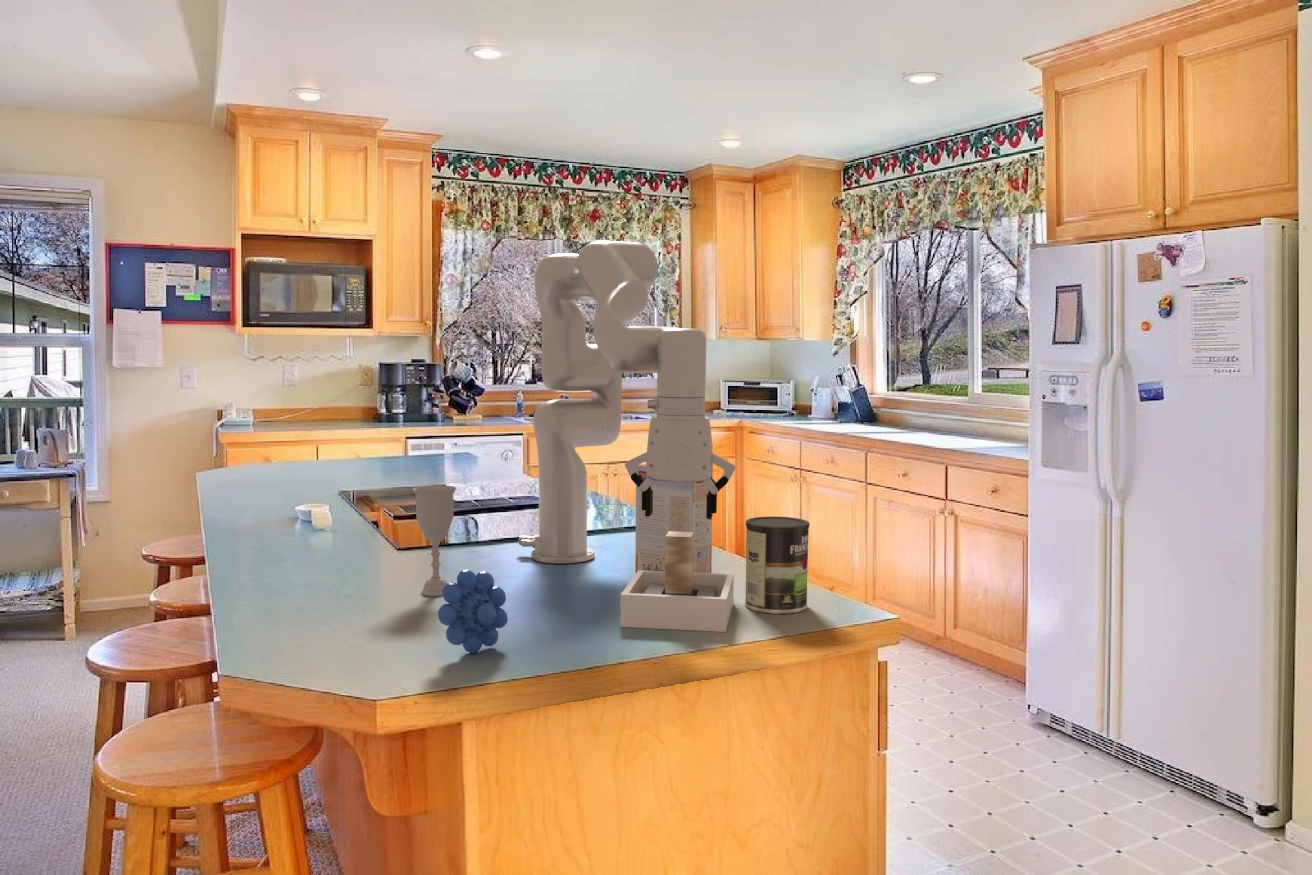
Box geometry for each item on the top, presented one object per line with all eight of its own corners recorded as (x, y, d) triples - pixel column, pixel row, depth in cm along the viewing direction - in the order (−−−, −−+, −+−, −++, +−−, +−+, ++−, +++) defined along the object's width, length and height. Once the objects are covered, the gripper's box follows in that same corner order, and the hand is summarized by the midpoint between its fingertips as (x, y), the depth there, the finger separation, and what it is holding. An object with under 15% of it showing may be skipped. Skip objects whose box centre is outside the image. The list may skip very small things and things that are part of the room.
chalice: (419, 599, 164) (418, 492, 162) (410, 589, 170) (408, 487, 168) (462, 594, 167) (461, 489, 165) (451, 585, 173) (450, 484, 171)
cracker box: (713, 583, 176) (714, 467, 174) (691, 589, 172) (692, 470, 170) (656, 570, 186) (656, 460, 184) (634, 575, 181) (634, 463, 179)
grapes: (460, 670, 129) (459, 580, 128) (428, 659, 133) (427, 572, 132) (526, 649, 138) (526, 565, 136) (495, 639, 142) (494, 558, 141)
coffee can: (817, 603, 163) (819, 519, 161) (791, 618, 154) (793, 529, 153) (761, 594, 168) (762, 513, 167) (733, 608, 160) (734, 522, 158)
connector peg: (664, 611, 154) (665, 536, 152) (668, 604, 158) (668, 531, 156) (690, 612, 153) (691, 537, 152) (692, 605, 157) (693, 532, 156)
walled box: (620, 626, 149) (620, 594, 148) (637, 599, 164) (638, 570, 164) (726, 631, 146) (726, 599, 146) (733, 603, 162) (733, 574, 162)
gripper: (621, 408, 150) (620, 518, 152) (734, 411, 147) (732, 523, 149) (630, 404, 157) (629, 509, 159) (738, 407, 155) (735, 514, 157)
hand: (679, 516), depth 154 cm, fingers open, 9 cm apart
